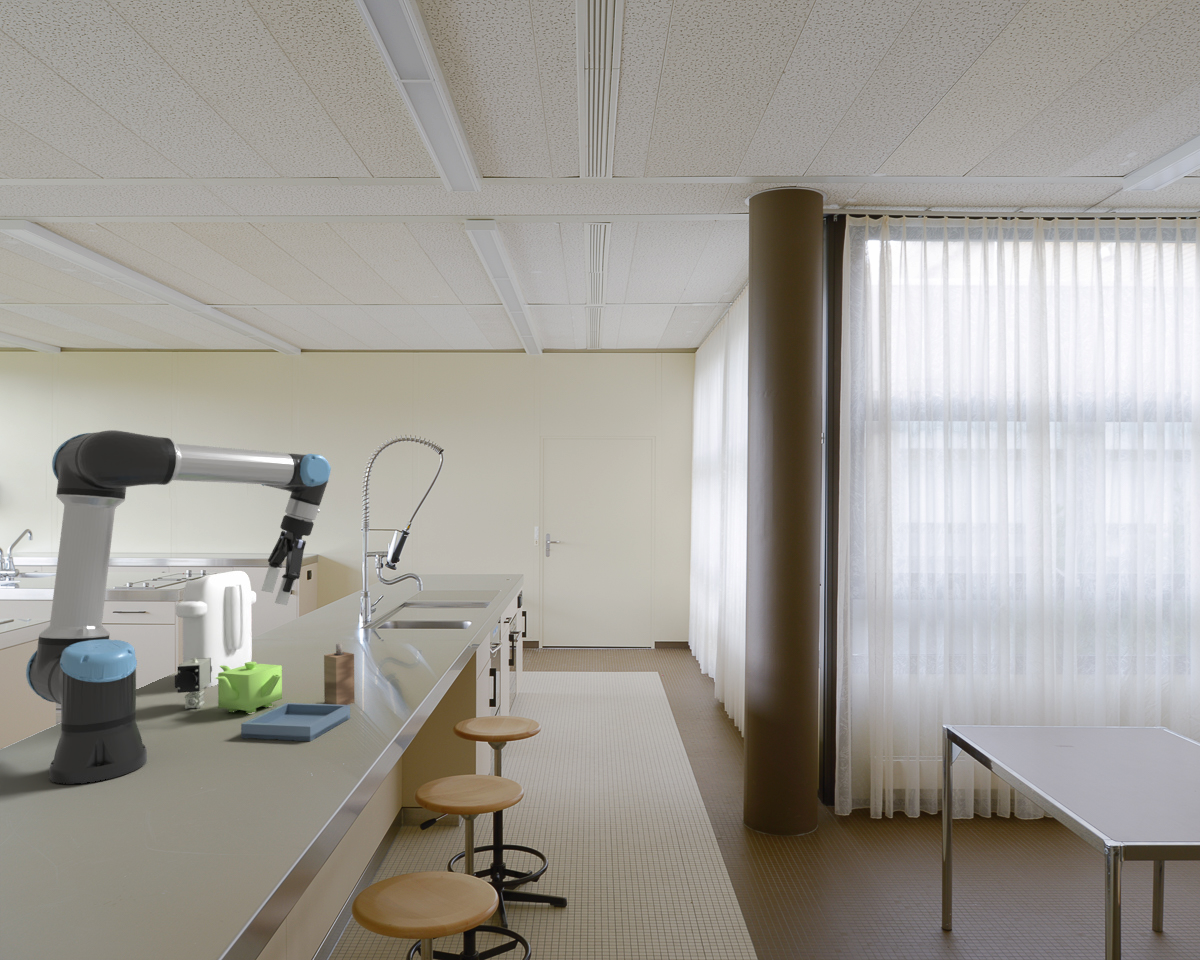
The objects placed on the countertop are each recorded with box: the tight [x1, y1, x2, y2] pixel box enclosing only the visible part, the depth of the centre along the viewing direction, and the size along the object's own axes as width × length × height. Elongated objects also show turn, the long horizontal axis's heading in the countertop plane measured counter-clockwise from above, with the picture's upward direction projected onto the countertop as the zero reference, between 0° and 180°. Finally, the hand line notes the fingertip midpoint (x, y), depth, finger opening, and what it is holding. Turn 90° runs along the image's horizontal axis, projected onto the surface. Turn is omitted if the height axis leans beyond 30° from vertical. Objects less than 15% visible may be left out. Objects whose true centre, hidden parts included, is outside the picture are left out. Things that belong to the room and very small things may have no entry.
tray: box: [240, 702, 351, 742], centre depth 162 cm, size 16×16×3 cm
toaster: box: [175, 570, 257, 689], centre depth 208 cm, size 27×11×30 cm, turn 171°
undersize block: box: [323, 643, 356, 705], centre depth 181 cm, size 5×5×14 cm
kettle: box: [216, 661, 283, 714], centre depth 177 cm, size 15×14×11 cm
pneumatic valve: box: [174, 657, 212, 710], centre depth 180 cm, size 6×12×12 cm, turn 11°
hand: (273, 597), depth 188 cm, fingers open, 13 cm apart
